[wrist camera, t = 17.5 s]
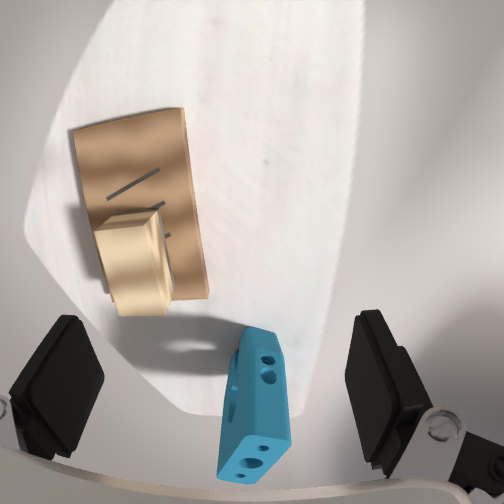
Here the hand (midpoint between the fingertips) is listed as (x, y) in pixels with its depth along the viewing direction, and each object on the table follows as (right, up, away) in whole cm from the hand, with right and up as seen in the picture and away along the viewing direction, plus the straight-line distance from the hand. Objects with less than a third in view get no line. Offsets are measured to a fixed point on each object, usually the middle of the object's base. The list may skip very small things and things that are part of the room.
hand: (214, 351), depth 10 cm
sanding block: (-12, +3, +29) cm, 32 cm away
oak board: (-13, +8, +29) cm, 33 cm away
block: (+1, -12, +38) cm, 40 cm away
